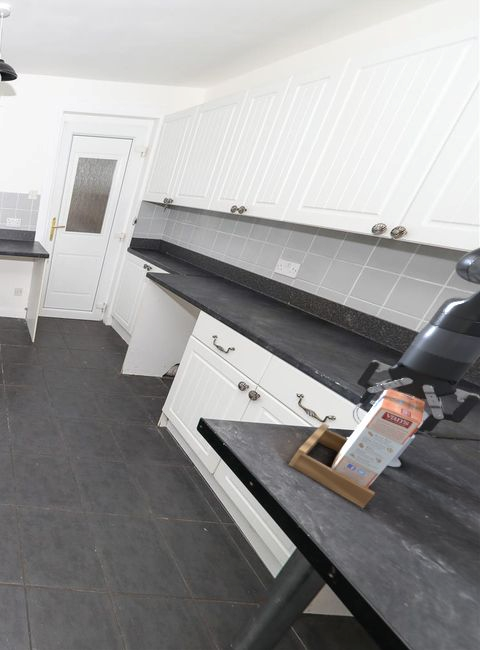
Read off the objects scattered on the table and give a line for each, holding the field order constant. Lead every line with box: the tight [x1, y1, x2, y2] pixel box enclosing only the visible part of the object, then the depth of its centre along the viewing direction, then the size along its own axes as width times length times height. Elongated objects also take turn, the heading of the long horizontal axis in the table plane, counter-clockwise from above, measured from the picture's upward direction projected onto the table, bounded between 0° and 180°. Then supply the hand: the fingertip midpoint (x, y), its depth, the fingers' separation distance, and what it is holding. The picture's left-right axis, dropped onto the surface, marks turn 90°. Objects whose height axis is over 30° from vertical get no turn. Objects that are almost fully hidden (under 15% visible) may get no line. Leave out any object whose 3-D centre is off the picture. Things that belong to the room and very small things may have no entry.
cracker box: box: [330, 388, 426, 489], centre depth 72 cm, size 14×6×21 cm, turn 125°
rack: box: [288, 422, 390, 509], centre depth 77 cm, size 19×12×5 cm, turn 122°
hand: (391, 417), depth 70 cm, fingers open, 7 cm apart
